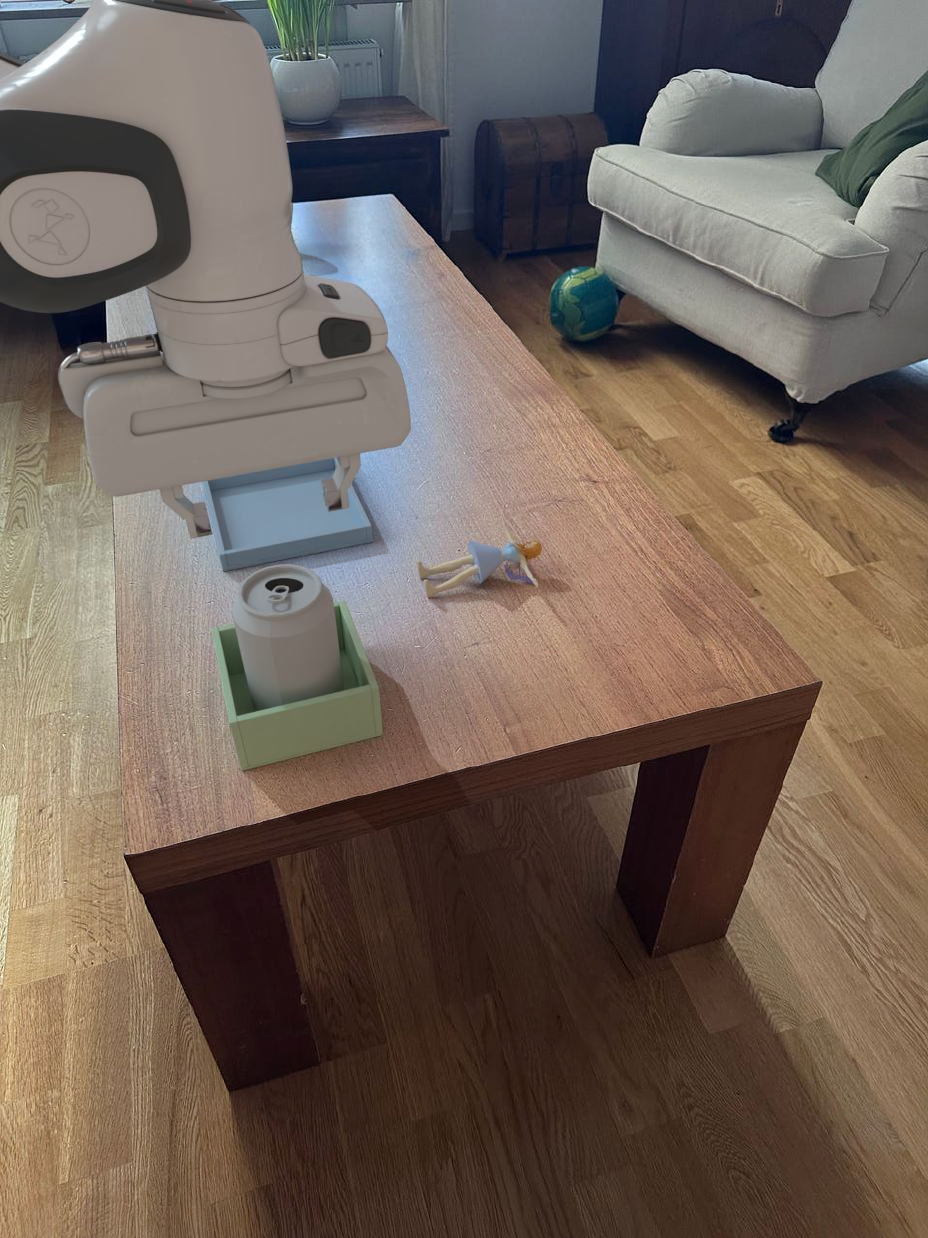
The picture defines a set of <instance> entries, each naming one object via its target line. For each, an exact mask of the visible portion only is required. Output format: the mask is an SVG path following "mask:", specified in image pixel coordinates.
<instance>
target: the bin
mask: <svg viewBox="0 0 928 1238" xmlns="http://www.w3.org/2000/svg"><path fill="white" fill-rule="evenodd" d="M333 603H334V611H335V619H336V627H337V635H338V643H339V651H340V659H341V667H342V675H343V683H344V691H340V692H336V693H332V694H328V695H323V696H319V697H315V698H311V699H307V700H303V701H298V702H294V703H290V704H286V705H282V706H277V707H273V708H269V709H265V710H261V711H256V712H255V711H254V708H253V704H252V701H251V696H250V692H249V687H248V683H247V678H246V674H245V669H244V665H243V660H242V656H241V651H240V647H239V642H238V638H237V633H236V629H235V624H234V623H231V624H225V625H222V626H221V625H220V626H216V627H212V628H210V630H211V636H212V641H213V646H214V651H215V658H216V662H217V666H218V672H219V677H220V682H221V687H222V692H223V697H224V702H225V708H226V713H227V718H228V723H229V727H230V731H231V735H232V739H233V743H234V747H235V750H236V755H237V759H238V763H239V767H240V770H241V772H243V771H247V770H251V769H255V768H259V767H262V766H263V767H264V766H267V765H271V764H274V763H279V762H282V761H283V762H284V761H286V760H290V759H295V758H298V757H299V758H300V757H302V756H306V755H310V754H313V753H318V752H322V751H326V750H329V749H335V748H337V747H342V746H346V745H349V744H353V743H357V742H361V741H365V740H369V739H373V738H377V737H381V736H383V735H384V730H383V719H382V708H381V707H382V706H381V695H380V687H379V684H378V681H377V679H376V677H375V674H374V671H373V669H372V667H371V663H370V661H369V659H368V656H367V653H366V651H365V648H364V646H363V643H362V641H361V638H360V636H359V633H358V630H357V628H356V626H355V623H354V620H353V617H352V615H351V612H350V610H349V608H348V607H349V606H348V605H347V602H346V600H344V599H343V600H339V601H333Z"/></svg>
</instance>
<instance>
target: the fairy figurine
mask: <svg viewBox="0 0 928 1238" xmlns="http://www.w3.org/2000/svg"><path fill="white" fill-rule="evenodd" d="M501 523H502V526H503V529H504V532H505V535H506V537H507V541H508V542H507V543H506V544H505V547H500V548H499V547H496V546H492V545H490V544H486V543H481V542H477V541H473V540H468V543H467V544H468V545H467V546H468V547H467V548H468V552H469V554H468V555H466V556H461V557H459V558H458V559H453V560H448V561H445V562H442V563H440V564H438V565H436V566H433V567H425V566H424V565H423V563H422V561H421V560H420V559H418V560H416V565H417V566H416V568H417V572H418V577H419V579H424V578H428V577H429V576H434V575H437V574H438V575H439V574H445V573H451V572H454V571H457V570H459V569H461V568H462V567H464V566H466V565H471V567H469V568H466V569H465V570H463V571H462V572H460V573H458V574H456V575H455V576H453V577H452V578H450V579H448V580H447V581H444V583H442V584H440V585H437V586H433V585H431V583H430V581H429V579H424V580H423V586H424V589H425V590H424V591H425V595H426V598H430V597H433V596H435V595H438V594H440V593H443V592H446V591H450V590H453V589H455V588H457V587H459V586H460V584H462V583H463V582H465V581H467V579H468V578H470V577H472V576H475V577H476V580H477V582H478V583H479V584H482V583H483V582H484V581H485V580H486V579H487V578H488V577H489V576H491V574H492V573H494V572H495V571H496V570H497V569H498V568H499V567H500V566H501V565H502V564H503V562H506V563H505V566H504V569H505V572H506V574H507V576H508V578H510V579H511V580H521V581H523V582H527V583H529V584H531V585H534V586H535V587H536V588H538V587H539V583H538V581H537V578H535V577H534V574H533V573H532V571H531V568H530V566H529V565H530V564H529V563H528V561H531V560H532V559H536V558H538V557H539V556H540V555H541V554H542V551H543V547H542V543H541V542H540V541H538V540H537V539H532V540H530V541H528V542H527V541H526V542H524V543H520V542H518V543H517V542H515V541H514V538H513V537H512V535H511V533H510V531H509V530H508V527H507V524H506V521H505V518H504V517H503V516H501ZM508 563H509V564H508ZM510 563H513V565H516V564H517V567H516V568H515V566H513V567H512V570H511V571H510V568H511V566H509V565H510ZM528 564H529V565H528ZM521 568H522V571H523V574H522V575H521ZM514 569H515V570H518V573H516V575H515V573H513V574H512V572H514ZM524 573H525V574H526V576H525V575H524Z"/></svg>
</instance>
